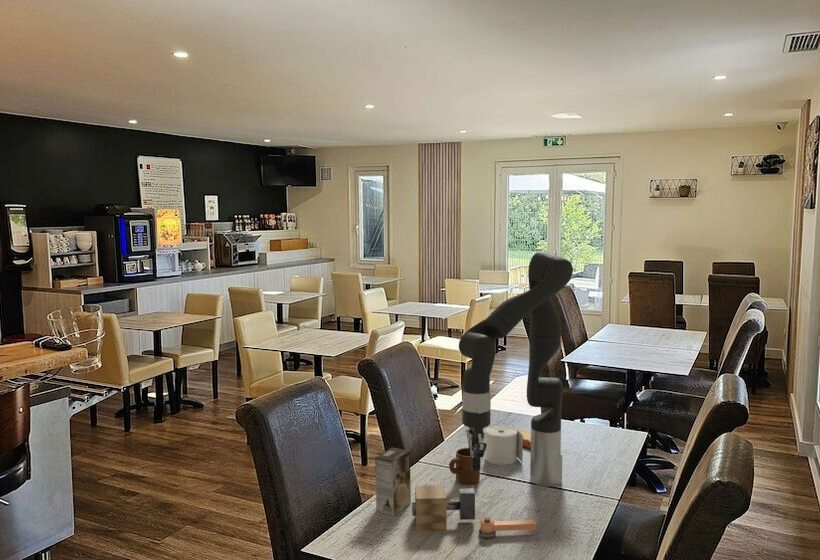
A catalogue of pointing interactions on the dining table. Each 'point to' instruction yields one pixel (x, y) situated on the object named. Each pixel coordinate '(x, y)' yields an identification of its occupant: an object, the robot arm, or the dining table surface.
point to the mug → (464, 468)
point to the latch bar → (506, 525)
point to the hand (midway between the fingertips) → (475, 469)
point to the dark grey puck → (487, 535)
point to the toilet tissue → (503, 445)
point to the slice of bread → (526, 438)
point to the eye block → (431, 507)
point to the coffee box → (393, 481)
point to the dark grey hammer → (460, 504)
